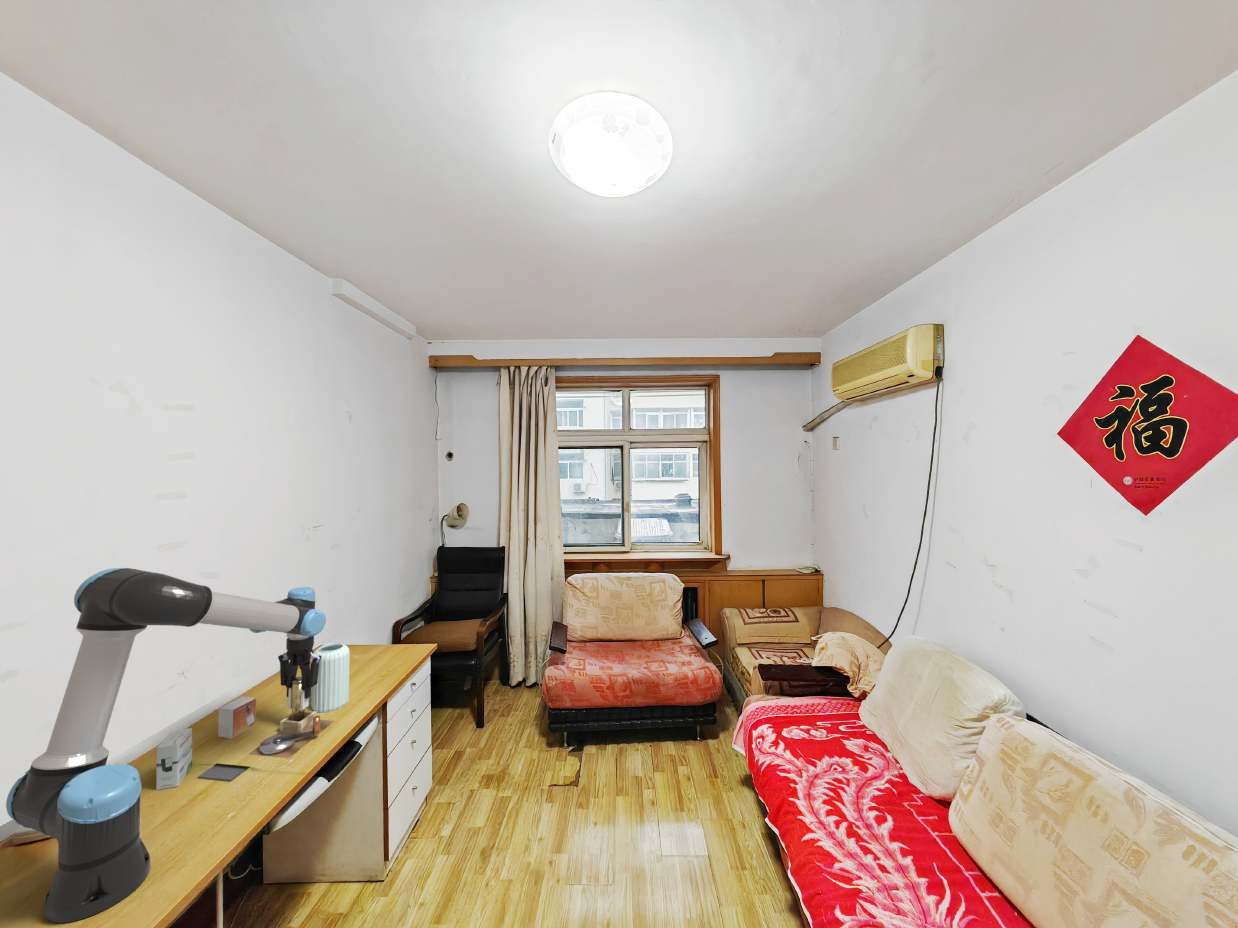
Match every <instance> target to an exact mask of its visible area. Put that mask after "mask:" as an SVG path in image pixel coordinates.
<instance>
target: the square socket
mask: <svg viewBox="0 0 1238 928" xmlns="http://www.w3.org/2000/svg"><path fill="white" fill-rule="evenodd" d="M315 716H318V712H317V711H314V710H305V718H304V719H303V720H302V721H291V719H292V712H291V713H290V714H289V715H287V716H286V717H285V718H283V719H281V720H280V721H279V732H282V733H293V734H300V733H303V732H304V731H306V730H307V729H308V728H309V727H311V726H312V725H313V717H315Z"/></svg>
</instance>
